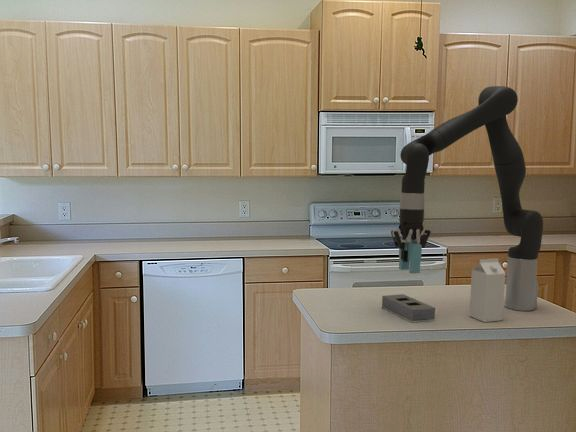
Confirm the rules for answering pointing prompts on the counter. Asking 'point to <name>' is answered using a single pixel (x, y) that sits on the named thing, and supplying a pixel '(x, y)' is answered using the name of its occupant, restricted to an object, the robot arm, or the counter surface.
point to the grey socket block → (408, 308)
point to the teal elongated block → (411, 258)
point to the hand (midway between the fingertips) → (409, 261)
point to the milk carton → (487, 291)
